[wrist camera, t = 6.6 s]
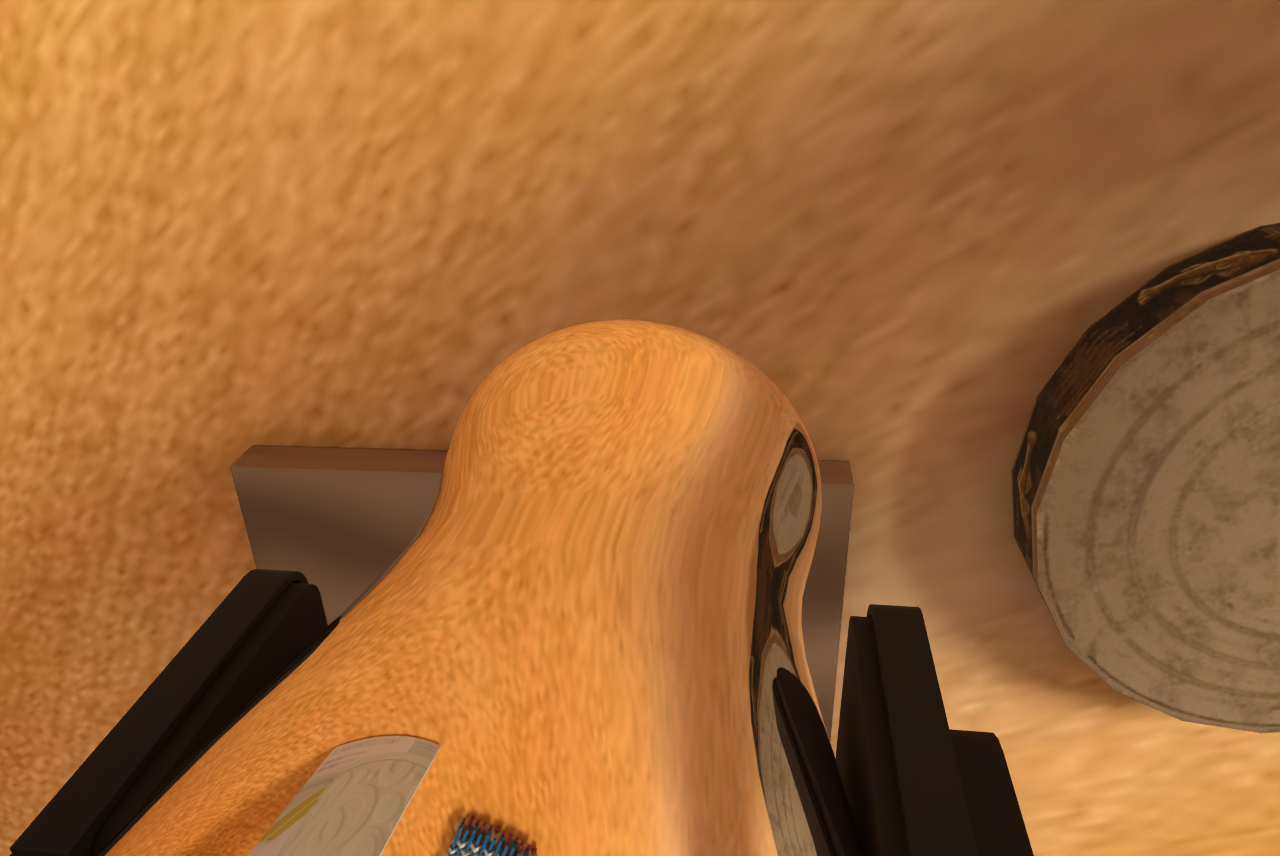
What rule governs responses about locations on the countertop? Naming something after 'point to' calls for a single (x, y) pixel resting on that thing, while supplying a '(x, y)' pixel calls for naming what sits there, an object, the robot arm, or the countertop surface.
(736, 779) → the shiny metal tumbler
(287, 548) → the coaster board
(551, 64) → the countertop surface
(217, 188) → the countertop surface
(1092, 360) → the brown flat disc
